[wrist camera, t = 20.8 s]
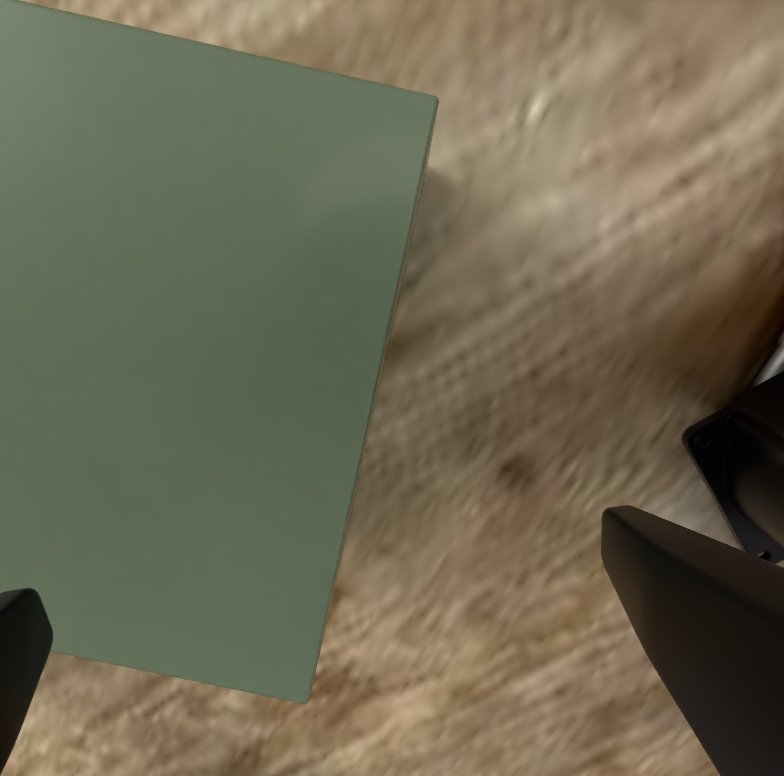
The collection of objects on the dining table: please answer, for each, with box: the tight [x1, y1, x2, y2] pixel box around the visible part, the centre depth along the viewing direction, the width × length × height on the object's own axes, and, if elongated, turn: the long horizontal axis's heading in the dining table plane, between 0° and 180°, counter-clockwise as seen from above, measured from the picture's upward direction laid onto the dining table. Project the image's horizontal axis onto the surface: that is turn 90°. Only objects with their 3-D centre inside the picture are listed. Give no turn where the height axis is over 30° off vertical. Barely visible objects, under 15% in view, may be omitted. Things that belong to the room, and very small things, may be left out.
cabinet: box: [0, 0, 439, 704], centre depth 16 cm, size 14×14×8 cm
